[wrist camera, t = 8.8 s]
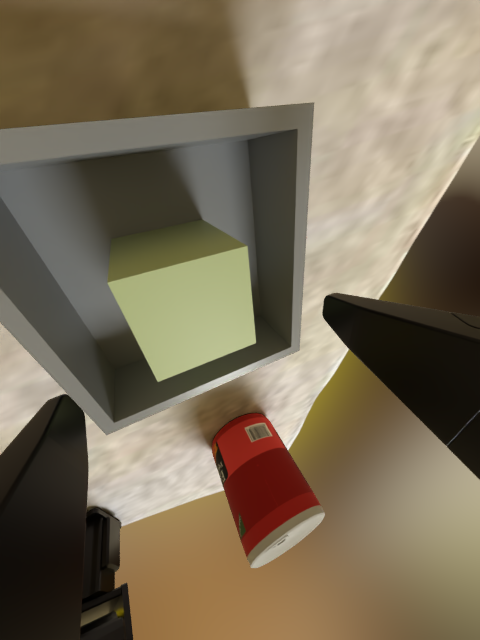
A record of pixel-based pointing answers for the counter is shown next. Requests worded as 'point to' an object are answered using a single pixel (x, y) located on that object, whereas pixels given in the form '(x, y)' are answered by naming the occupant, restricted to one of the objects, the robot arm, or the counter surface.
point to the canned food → (264, 488)
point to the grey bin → (140, 216)
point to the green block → (183, 294)
